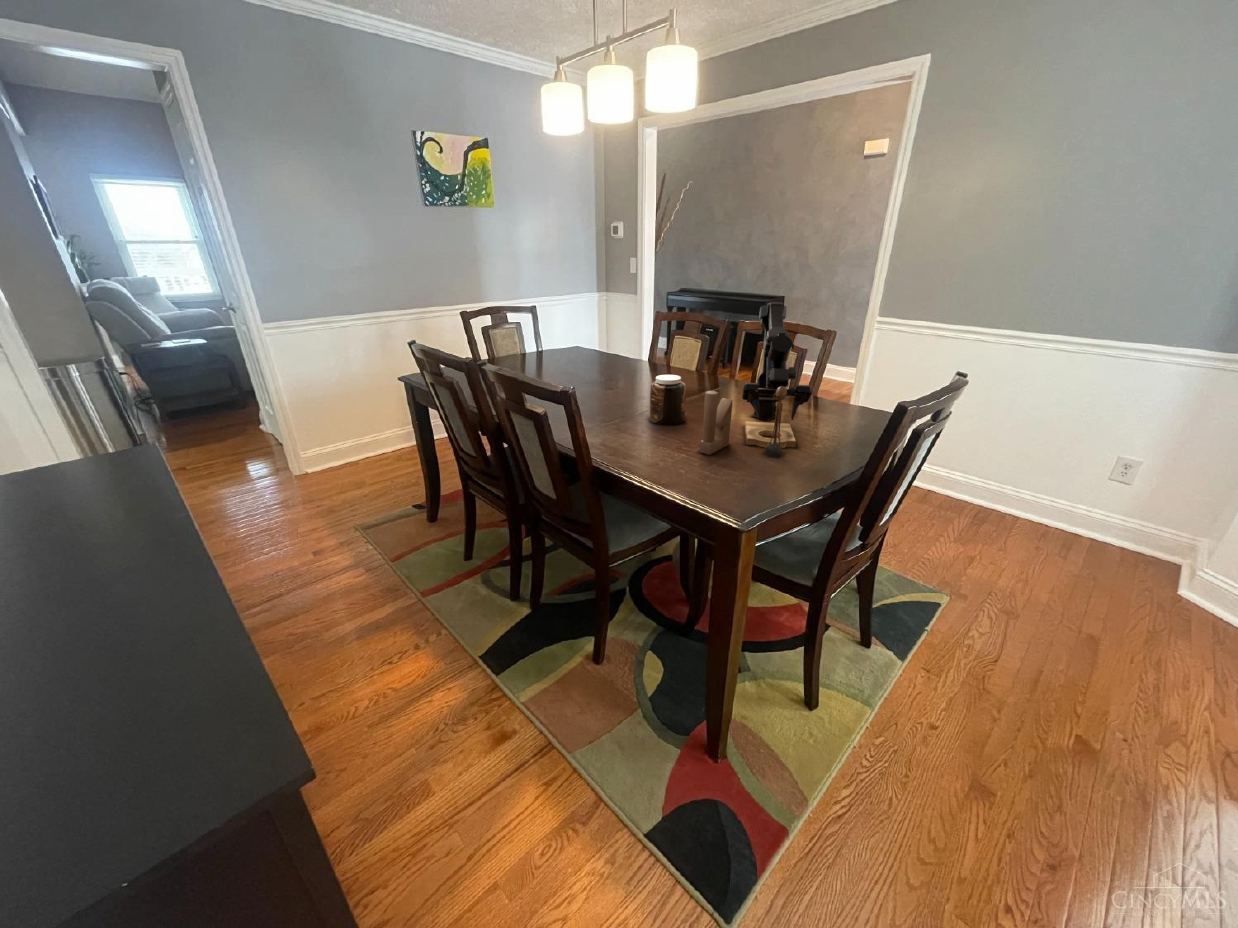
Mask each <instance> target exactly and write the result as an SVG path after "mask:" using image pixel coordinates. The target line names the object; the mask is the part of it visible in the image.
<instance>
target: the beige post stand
mask: <svg viewBox="0 0 1238 928" xmlns="http://www.w3.org/2000/svg"><path fill="white" fill-rule="evenodd" d="M718 401H719V392H718V391H715V390H707V391H705V393H704V407H703V408H704V409H703V422H702V437H701V438H702V440H700V442H699V453H702V454H705V455H708V456H711V455H712V454H714V453H716V452H718V451H719V450H722V449H724V448H725V447H727V446H729V444H730V434H731V433H730V432H731V423H732V411H733V399H729V398H724V397H722V398H721V399H720V401H719V402H718Z"/></svg>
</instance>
